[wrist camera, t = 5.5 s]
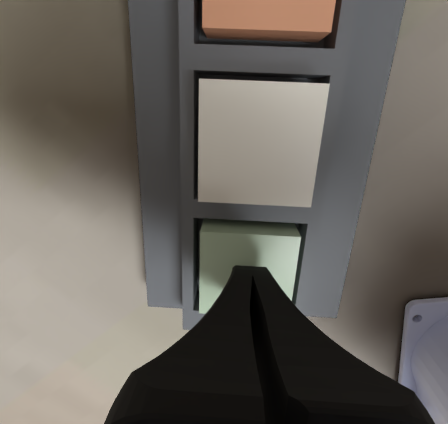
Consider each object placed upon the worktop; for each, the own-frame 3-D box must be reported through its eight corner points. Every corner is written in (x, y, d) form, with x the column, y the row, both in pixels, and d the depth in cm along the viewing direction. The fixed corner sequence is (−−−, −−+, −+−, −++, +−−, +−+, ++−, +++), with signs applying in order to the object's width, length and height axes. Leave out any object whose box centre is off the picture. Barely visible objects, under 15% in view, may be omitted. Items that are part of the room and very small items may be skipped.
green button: (283, 296, 14) (289, 318, 13) (203, 291, 14) (199, 313, 13) (293, 221, 13) (301, 237, 11) (204, 216, 13) (200, 231, 12)
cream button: (301, 194, 12) (310, 207, 10) (203, 189, 12) (197, 201, 10) (316, 86, 10) (329, 83, 9) (204, 82, 10) (199, 78, 9)
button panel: (328, 299, 17) (346, 339, 14) (155, 289, 17) (138, 326, 14) (412, -121, 10) (478, -205, 7) (133, -126, 11) (95, -209, 8)
